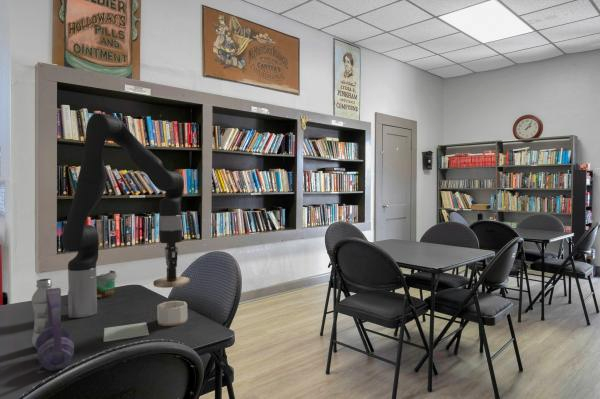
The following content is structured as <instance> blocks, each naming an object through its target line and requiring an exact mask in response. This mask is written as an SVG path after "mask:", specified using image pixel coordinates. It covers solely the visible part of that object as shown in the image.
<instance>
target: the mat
mask: <svg viewBox="0 0 600 399" xmlns="http://www.w3.org/2000/svg"><path fill="white" fill-rule="evenodd" d="M148 329H149V328H148V324H147V322H139V323H138V322H137V323H134V324H133V323H131V324H125V325H118V326H110V327H109V326H108V327H104V328H103V330H104V331H103V342H104V343H105V342H112V341H113V342H114V341H118V340H124V339H132V338H138V337H144V336H149V335H150V333H149V330H148Z"/></svg>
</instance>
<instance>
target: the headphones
mask: <svg viewBox="0 0 600 399" xmlns="http://www.w3.org/2000/svg"><path fill="white" fill-rule="evenodd" d="M46 296H47V305H48V329H46V330H44V331H43V332H42V333H41V334H40V335H39V336H38V338H37V340H36V348H35V349H36V351H37V354H36V356H37V359H38V362H39V364H40V365H41V366H42V367H43V368H44V369H45V370H48V371H59V370H61V369H63V368H65V367H67V366H68V365H69V364H70V362H71V361H72V357H73V356H74V353H75V345H74V342H73V341H72V340H71V336H70V333H69V331H68V330H66V329H65V328H63V327H61V326H62V325H61V324H62V323H61V322H62V289H61V288H60V287H55V288H52V289H46Z"/></svg>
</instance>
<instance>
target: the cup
mask: <svg viewBox="0 0 600 399" xmlns="http://www.w3.org/2000/svg"><path fill="white" fill-rule="evenodd" d="M156 310H157V311H156V314H157V316H156V317H157V324H158V325H159V326H163V327H170V326H171V327H173V326H178V325H181V324H184V323H186V322H188V319H189V317H188V304H187V302H186V301H181V300H171V301H164V302H161V303H159V304H157V305H156Z"/></svg>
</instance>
